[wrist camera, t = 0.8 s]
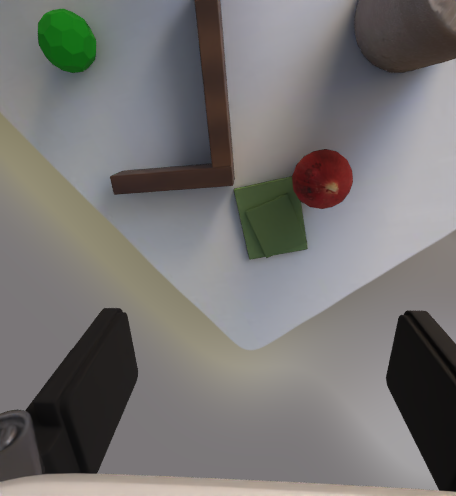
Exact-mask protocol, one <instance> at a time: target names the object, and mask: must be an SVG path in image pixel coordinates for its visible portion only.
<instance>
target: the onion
mask: <svg viewBox="0 0 456 496" xmlns="http://www.w3.org/2000/svg"><path fill="white" fill-rule="evenodd" d="M292 182H293V190H294V192H295V194H296V195H297V197H298V198H299V200H300V201H301V202H303V203H305V204H306V205H308V206H309V207H314V208H319V209H324V208H329V207H333V206H335V205H337V204H339V203H340V202H342V201H343V200H344V199H345V197H346V196H347V195H348V193H349V192H350V189H351V186H352V183H353V176H352V169H351V167H350V165H349V163H348V161H347V159H345V158H344V157H343V156H342V155H341V154H339V153H338V152H336V151H332V150H327V149H324V150H318V151H313V152H311V153H310V154H308V155H306V156H304V157H303V158H302V159H301V160H300V162H299V163H298V164H297V165H296V167H295V170H294V173H293V175H292Z"/></svg>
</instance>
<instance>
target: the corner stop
mask: <svg viewBox="0 0 456 496" xmlns="http://www.w3.org/2000/svg"><path fill="white" fill-rule="evenodd" d="M194 1H195V10H196V19H197V29H198V38H199V48H200V57H201V66H202V76H203V85H204V95H205V104H206V113H207V123H208V132H209V142H210V151H211V160H212V164H200V165H188V166H175V167H163V168H151V169H139V170H127V171H121V172H119V173H116V174H114V175H112V176H110V179H111V183H112V188H113V192H114V194H115V195H116V194H130V193H143V192H156V191H169V190H183V189H196V188H209V187H223V186H233V184H234V180H235V176H234V164H233V152H232V139H231V127H230V114H229V102H228V90H227V77H226V65H225V52H224V40H223V28H222V15H221V3H220V0H194Z"/></svg>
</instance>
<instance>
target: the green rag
mask: <svg viewBox="0 0 456 496" xmlns="http://www.w3.org/2000/svg"><path fill="white" fill-rule="evenodd" d="M234 193H235V198H236V202H237V207H238V211H239V215H240V220H241V224H242V229H243V233H244V238H245V242H246V246H247V251H248V255H249V259H256V258H261V257H266V258H268V257H271V256H273V255H278V254H283V253H289V252H294V251H300V250H305V249H308V248H307V240H306V234H305V227H304V221H303V214H302V207H301V201H300V200H299V198H298V197H297V195H296V194H295V192H294V190H293V182H292V176H291V177H286V178H281V179H277V180H272V181H268V182H263V183H258V184H254V185H249V186H244V187H240V188H235V189H234Z"/></svg>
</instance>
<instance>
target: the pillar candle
mask: <svg viewBox="0 0 456 496" xmlns="http://www.w3.org/2000/svg"><path fill="white" fill-rule="evenodd" d="M355 34H356V39H357V44H358V46H359V47H360V49H361V51H362V54H363V55H364V56H365V57H366V59H367V60H369V61H370V62H371V63H372V64H373V65H375V66H377V67H379V68H381V69H383V70H387V71H388V72H391V73H393V72H394V73H403V72H407V71H413V70H416V69H419V68H423V67H427V66H430V65H434V64H437V63H442V62H446V61H449V60H452V59H455V58H456V0H359V1H358V4H357V8H356V14H355Z"/></svg>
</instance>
